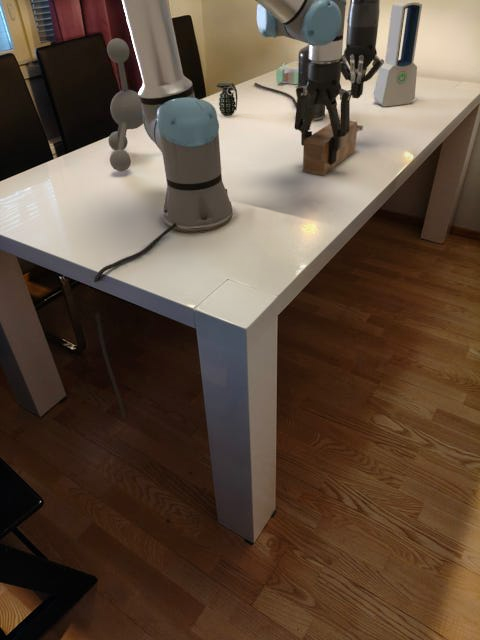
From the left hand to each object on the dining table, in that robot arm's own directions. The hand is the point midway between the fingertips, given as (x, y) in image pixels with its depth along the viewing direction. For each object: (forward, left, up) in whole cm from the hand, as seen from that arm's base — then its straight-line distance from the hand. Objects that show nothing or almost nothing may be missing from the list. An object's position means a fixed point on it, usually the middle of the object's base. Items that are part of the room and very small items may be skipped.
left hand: (319, 160), depth 125 cm
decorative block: (+93, +42, -2) cm, 102 cm away
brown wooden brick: (+6, -1, -2) cm, 6 cm away
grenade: (+35, +47, -2) cm, 59 cm away
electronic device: (+68, -2, -2) cm, 68 cm away
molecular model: (-9, +49, -2) cm, 50 cm away
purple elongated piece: (+11, -1, -1) cm, 11 cm away
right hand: (+20, -2, +11) cm, 23 cm away
